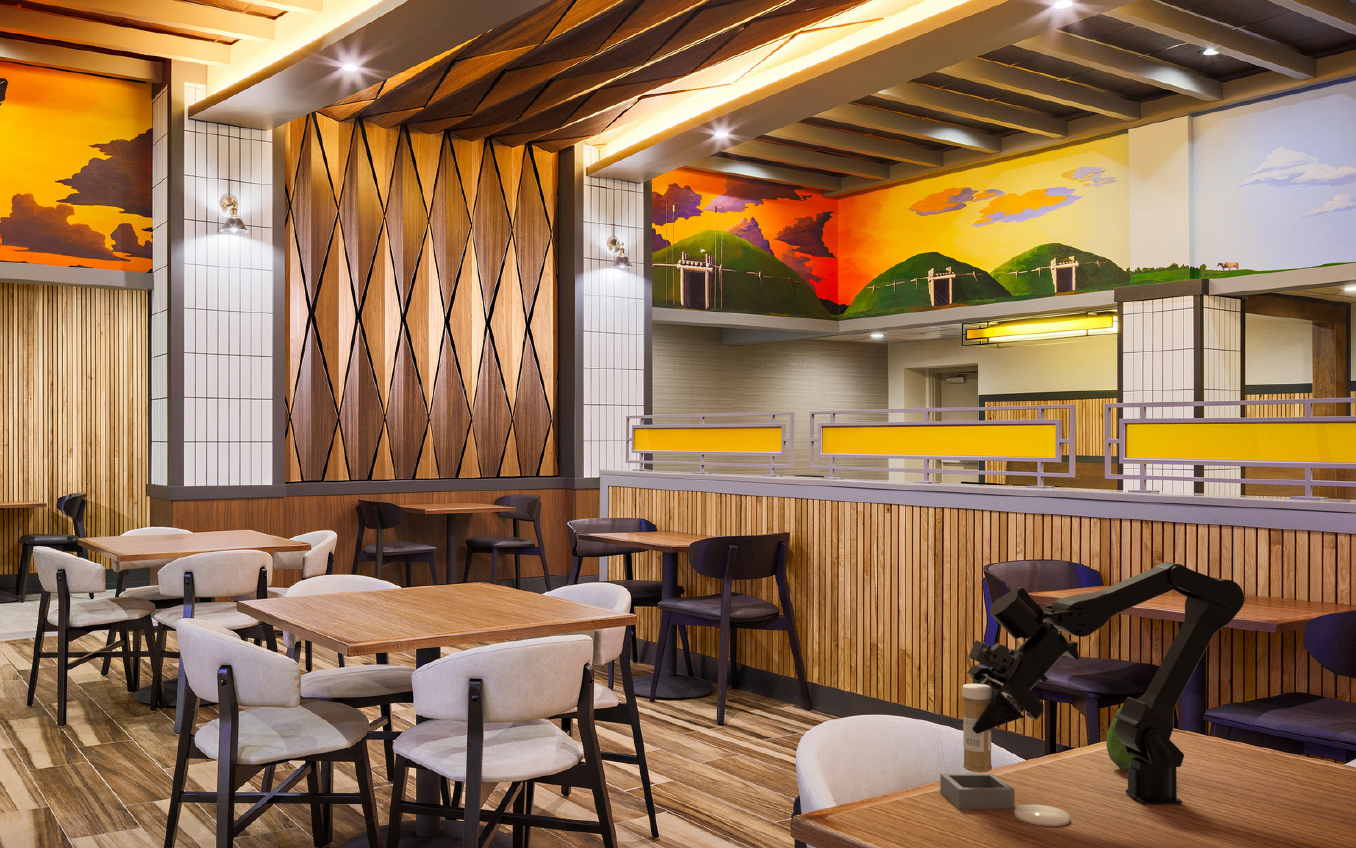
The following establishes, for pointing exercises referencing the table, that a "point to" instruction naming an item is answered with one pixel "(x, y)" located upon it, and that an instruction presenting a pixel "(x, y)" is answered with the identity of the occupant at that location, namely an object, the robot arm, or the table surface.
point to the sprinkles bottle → (974, 744)
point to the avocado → (1117, 747)
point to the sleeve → (977, 791)
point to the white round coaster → (1042, 815)
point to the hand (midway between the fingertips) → (968, 728)
